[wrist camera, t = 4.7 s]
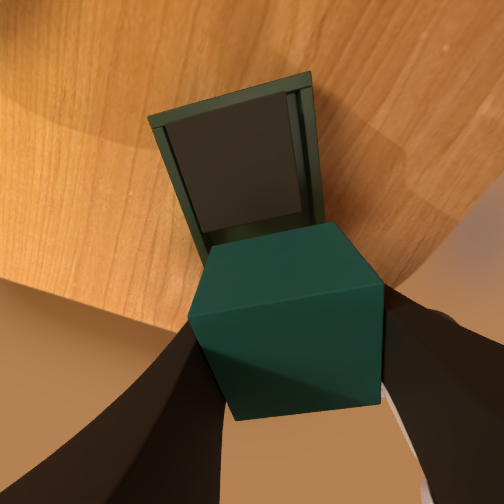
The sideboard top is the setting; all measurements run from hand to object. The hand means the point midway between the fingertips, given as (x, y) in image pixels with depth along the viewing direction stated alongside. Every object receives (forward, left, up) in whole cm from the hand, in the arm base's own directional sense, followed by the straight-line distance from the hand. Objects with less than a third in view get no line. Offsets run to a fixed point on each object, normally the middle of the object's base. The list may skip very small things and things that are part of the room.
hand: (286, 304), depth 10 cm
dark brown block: (+5, +1, -8) cm, 10 cm away
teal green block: (0, 0, -1) cm, 1 cm away
